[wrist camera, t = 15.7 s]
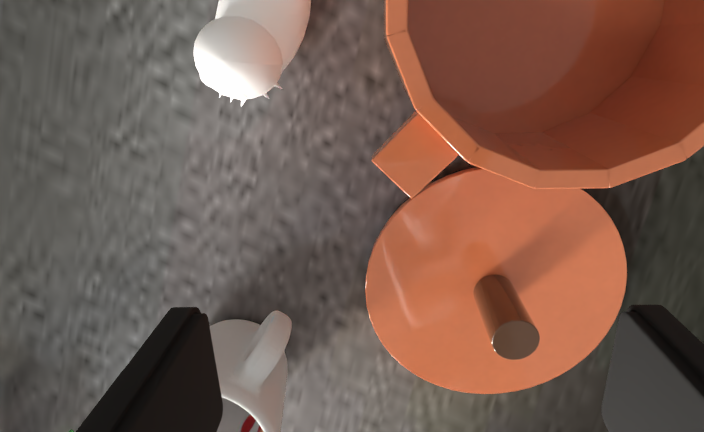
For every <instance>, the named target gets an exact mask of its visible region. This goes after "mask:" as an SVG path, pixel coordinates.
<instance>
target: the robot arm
mask: <svg viewBox="0 0 704 432" xmlns="http://www.w3.org/2000/svg"><path fill="white" fill-rule="evenodd" d="M222 414H223V401H222V396H221V390H220V384H219V379H218V373H217V367H216V361H215V356H214V350H213V344H212V338H211V333H210V327H209V321H208V317H207V315H206V314H205V313H203V314H201V313H200V310H199V309H198V308H197V307H174V308H171V309H170V310H169V311H168V313H167V314H166V315H165V317H164V318H163V319H162V320H161V322H160V323H159V324H158V326H157V327H156V328H155V330H154V331H153V332H152V334H151V335H150V336H149V337H148V339H147V340H146V341H145V343H144V344H143V345H142V347H141V348H140V349H139V351H138V352H137V353H136V354H135V356H134V357H133V358H132V360H131V361H130V362H129V364H128V365H127V366H126V368H125V369H124V370H123V371H122V372H121V373H120V375H119V376H118V377H117V379H116V380H115V381H114V383H113V384H112V385H111V387H110V388H109V389H108V390H107V392H106V393H105V394H104V396H103V397H102V398H101V400H100V401H99V402H98V404H97V405H96V406H95V407H94V409H93V410H92V411H91V413H90V414H89V415H88V417H87V418H86V419H85V421H84V422H83V423H82V424H81V426H80V427H79V428H78V430H77V431H76V432H217V429H218V427H219V424H220V422H221V419H222ZM602 417H603V420H604V423H605V425H606V427H607V429H608V430H609V432H704V344H703V343H702V342H701V341H700V340H699V339H697V338H696V337H695V336H694V335H693V334H692V333H691V332H690V331H689V330H688V329H687V328H686V327H685V326H684V325H683V324H682V323H680V322H679V321H678V320H677V319H676V318H675V317H674V316H673V315H672V314H671V313H670V312H669V311H668V310H667V309H666V308H664V307H663V306H661V305H631V306H630V307H629V308H628V309H627V312H622V313H621V314H620V316H619V320H618V325H617V331H616V336H615V341H614V346H613V351H612V356H611V361H610V366H609V371H608V377H607V382H606V387H605V392H604V397H603V402H602Z"/></svg>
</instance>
